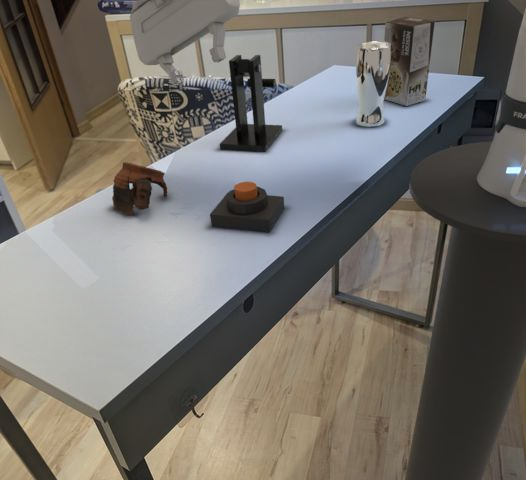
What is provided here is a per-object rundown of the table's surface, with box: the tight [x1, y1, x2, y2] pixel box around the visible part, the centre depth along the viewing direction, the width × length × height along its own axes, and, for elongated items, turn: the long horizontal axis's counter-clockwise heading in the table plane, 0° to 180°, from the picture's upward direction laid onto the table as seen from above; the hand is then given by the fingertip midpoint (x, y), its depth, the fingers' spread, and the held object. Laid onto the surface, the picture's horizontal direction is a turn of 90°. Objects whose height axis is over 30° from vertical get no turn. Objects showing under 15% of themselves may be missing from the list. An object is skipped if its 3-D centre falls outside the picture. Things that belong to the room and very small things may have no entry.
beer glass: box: [355, 40, 391, 128], centre depth 109 cm, size 7×7×15 cm
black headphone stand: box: [219, 54, 283, 153], centre depth 106 cm, size 12×10×16 cm
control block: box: [209, 185, 285, 233], centre depth 84 cm, size 10×8×4 cm
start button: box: [233, 181, 258, 201], centre depth 83 cm, size 4×4×2 cm
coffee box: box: [383, 16, 436, 107], centre depth 118 cm, size 9×6×16 cm
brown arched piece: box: [111, 161, 169, 216], centre depth 90 cm, size 12×10×8 cm
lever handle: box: [238, 58, 277, 89], centre depth 106 cm, size 12×6×2 cm
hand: (198, 72), depth 83 cm, fingers open, 8 cm apart
